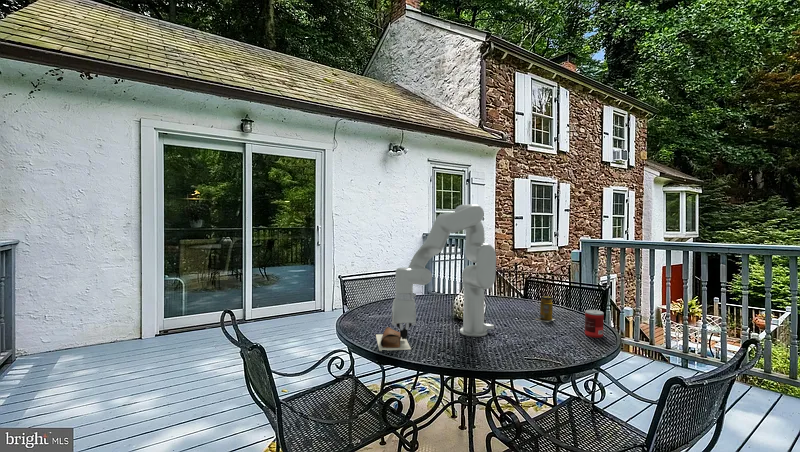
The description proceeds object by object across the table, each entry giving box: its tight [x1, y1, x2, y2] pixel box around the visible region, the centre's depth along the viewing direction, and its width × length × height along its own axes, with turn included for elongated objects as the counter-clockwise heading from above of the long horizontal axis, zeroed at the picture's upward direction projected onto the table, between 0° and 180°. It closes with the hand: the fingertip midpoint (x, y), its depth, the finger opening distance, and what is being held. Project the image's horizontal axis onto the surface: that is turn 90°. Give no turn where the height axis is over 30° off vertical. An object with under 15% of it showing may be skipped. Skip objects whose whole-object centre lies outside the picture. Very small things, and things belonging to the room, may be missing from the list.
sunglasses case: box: [381, 326, 401, 348], centre depth 172 cm, size 18×7×7 cm
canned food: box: [584, 309, 605, 339], centre depth 181 cm, size 8×8×11 cm
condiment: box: [535, 295, 556, 323], centre depth 208 cm, size 7×8×12 cm
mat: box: [375, 334, 412, 352], centre depth 171 cm, size 13×21×1 cm, turn 8°
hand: (403, 338), depth 172 cm, fingers closed
